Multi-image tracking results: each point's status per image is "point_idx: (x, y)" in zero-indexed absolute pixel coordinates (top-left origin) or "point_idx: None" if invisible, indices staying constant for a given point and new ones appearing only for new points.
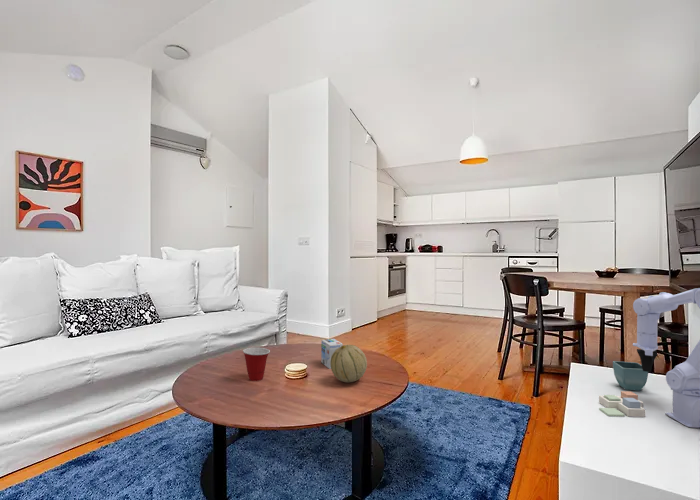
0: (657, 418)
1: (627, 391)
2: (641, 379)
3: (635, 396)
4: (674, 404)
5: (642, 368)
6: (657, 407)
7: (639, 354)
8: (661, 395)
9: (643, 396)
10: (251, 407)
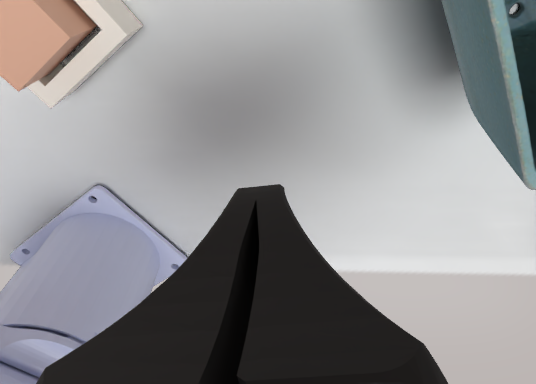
0: (4, 156)
1: (40, 9)
2: (471, 92)
3: (5, 73)
4: (33, 263)
5: (229, 201)
6: (184, 151)
7: (60, 373)
8: (428, 161)
9: (345, 77)
10: None
